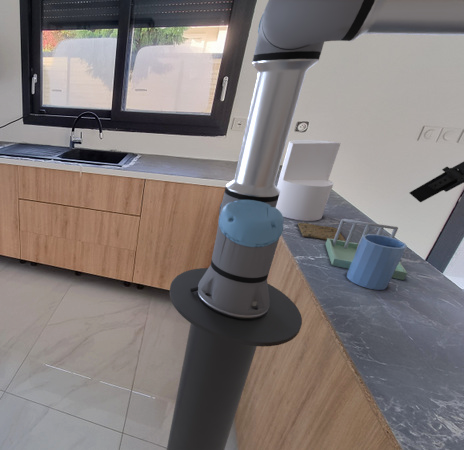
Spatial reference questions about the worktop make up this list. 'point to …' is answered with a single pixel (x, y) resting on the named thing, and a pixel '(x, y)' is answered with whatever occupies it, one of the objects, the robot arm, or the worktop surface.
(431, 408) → the worktop surface
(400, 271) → the dish rack
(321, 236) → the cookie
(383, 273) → the tumbler
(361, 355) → the worktop surface
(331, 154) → the white rounded block
